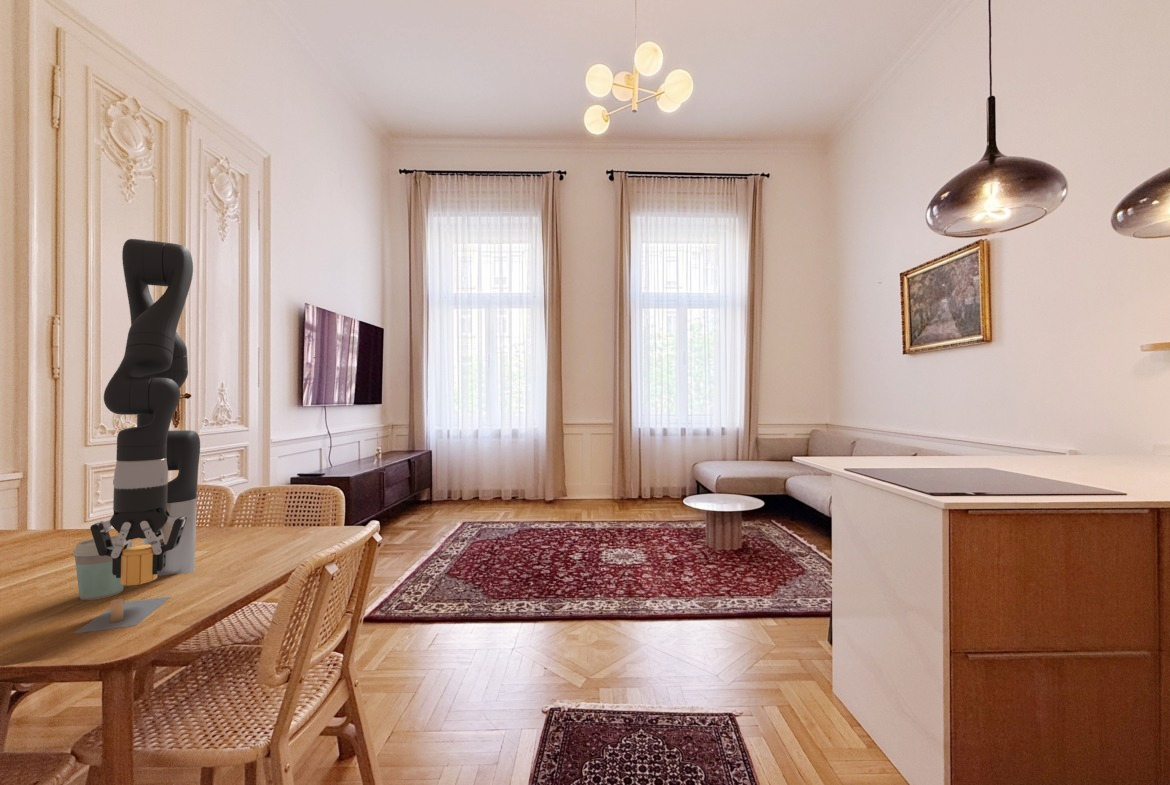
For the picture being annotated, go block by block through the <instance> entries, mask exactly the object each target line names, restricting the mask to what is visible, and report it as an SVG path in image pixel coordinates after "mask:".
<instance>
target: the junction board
mask: <svg viewBox="0 0 1170 785" xmlns="http://www.w3.org/2000/svg"><path fill="white" fill-rule="evenodd" d="M170 599H171V596H167V597H157V598H149V599H148V598H146V599H140V600H139V599H138V600H130V601H124V600H125V599H124V598H115V599H113V600H111V601H110V608H109V609H107V610H106V611H104V612H103V613H102V614H100V615H99V616H97V617H95V618H94V619H93V620H91V621H90V622H89V623H87V624H86V625H84V626H83V627H81V628H80V629H78V630H77V631H76V632H74V634H81V633H89V632H90V633H91V632H96V631H106V630H113V629H122V628H129V627H136V626H138V625H139V624H140V623H141V622H143V621H144V620H145V619H146V618H148V617H149V616H150V615H151V614H152V613H153V612H155V611H156V610H157V609H159V608H160V606H162V605H163V604H164V603H166V602H167V601H168V600H170Z"/></svg>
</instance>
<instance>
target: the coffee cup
mask: <svg viewBox="0 0 1170 785" xmlns="http://www.w3.org/2000/svg"><path fill="white" fill-rule="evenodd" d="M110 538H111V541H112V544H113V547H115V542H116V540H117V538H118V535H115V536H114V535H113V536H112V535H110ZM129 547H133V543H132V541H131V542H130V543H129V545H128V548H129ZM72 556H74V558H75V568H76V576H77V577H76V578H77V585H78V593H79V594H78V595H79V599H80V600H82V601H92V600H99V599H105V598H109V597H113V596H116V595H118V594H121V593H123V592H124V588H125V587H124V586H125V585H122V584H121V578H116V575H113V573H112V561H113V560H112V557H110V556H106V555H104V556H100V555H99V554H98V551H97V548H96V545H95V542H94V538H90V539H87V540H83V541H79V542H78V543H77V544H76V546H75V548H74V549H73V553H72Z"/></svg>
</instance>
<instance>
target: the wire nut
mask: <svg viewBox="0 0 1170 785" xmlns="http://www.w3.org/2000/svg"><path fill="white" fill-rule="evenodd" d="M153 555H155V554H154V552H153V549H152V547H151V545H143V544H140V545H134V546H132V547H129V548H126V549H124V550H123V551H122V555H121V584H122V585H124V586H136V585H142V584H145V583H146V584H147V583H149V582H152V581H155V580H156V579H157V578H158V576H157V574H155V575H153V574H152V567H153Z"/></svg>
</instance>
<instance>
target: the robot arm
mask: <svg viewBox="0 0 1170 785" xmlns="http://www.w3.org/2000/svg"><path fill="white" fill-rule="evenodd" d="M121 252H122V253H121V254H122V257H121V258H122V268H123V276H124V282H125V287H126V294H127V299H128V307H129V314H130V327H129V330H128V333H127V339H126V344H125V351H124V356H123V358H122V360H121V362H120V364H119V365H118V368H117V369H116V370H115V372H114V374H113V375H112V377H111V378H110V379H109V382H108V383H107V384H106V387H105V389H104V393H103V402H104V403H103V404H104V405H105V407H106V409H108V410H109V411H110V412H112V413H113V414H116V415H120V416H121V415H125V416H127V415H129V416H130V415H133V416H134V415H136V426H133V427H128V428H124V429H121V430H120V431H119V432H118V433H117V436H116V437H117V438H116V456H115V457H116V458H115V459H116V463H115V469H114V472H113V473H114V474H113V480H112V481H113V482H112V485H113V502H112V504H113V505H112V506H113V507H112V508H113V509H112V511H113V513H112V516H111V518H110V519H108V520H105V521H102V520H101V521H98V522H96V523H94V524H92V525H90V526H89V527H90V531H91V532H90V533H91V535H92V537H93V538H92V539H94V542H95V545H96V548H97V551H98V554H99V555H100V556H104V555H106V556H110V557H112V560H113V561H112V573H113V575H116V578H121V555H122V551H123V550H124V549H126V548H128V545H129V543H130V542H132V540H136V539H143V540H142V541H143V542H142V545H151V547H152V549H153V552H154V554H155V555H153V567H152V574H153V575H155V574H157V577H164V576H173V575H179V574H180V575H181V574H192V573H195V567H196V566H195V565H196V564H195V561H196V539H197V538H196V533H197V532H196V530H197V501H198V500H197V499H198V498H197V497H198V496H197V494H198V479H199V478H198V476H199V464H200V454H201V439H200V436H199V433H198V432H196V431H194V430H186V429H185V430H182V429H181V430H169V429H170V427H171V426H170V425H171V423H172V420H173V416H174V414H175V412H176V409H177V406H178V405H179V402H180V398H181V387H182V386H183V384H184V383H185V382H186V380H187V379H188V376H189V366H188V365H189V363H188V349H187V345H186V342H184V340H183V338H182V337H181V336H180V334H179V333H178V332H177V329H178V326H179V325H178V324H179V321H180V318H181V316H182V313H183V310H184V307H185V304H186V302H187V298H188V295H189V291H190V288H191V285H192V280H193V272H194V264H193V263H194V262H193V256H192V254H191V252H190V249H189V248H188V247H187V246H185V245H182V244H179V243H172V242H164V241H163V242H162V241H158V240H157V241H156V240H149V239H148V240H145V239H137V238H129V239H126V241H125V242H124V243H123V246H122V251H121ZM149 286H156V287H157V286H158V287H167V288H166V290H165V291H164V293H163V294H161V296H160V297H159V298H158V299H157V300H156V301H155V302H154V300H153V298H152V295H151V293H150V288H149ZM169 471H178V474H177V476H176V477H175V478H173V479H172V480H170V481H169ZM112 528H113V529H114V530H115V531H116V532H117V533H118V535H117V536H118V538H117V540H116V542H115V547H113V544H112V541H111V538H110V537H111V535H110V531H111V530H112Z"/></svg>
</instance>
